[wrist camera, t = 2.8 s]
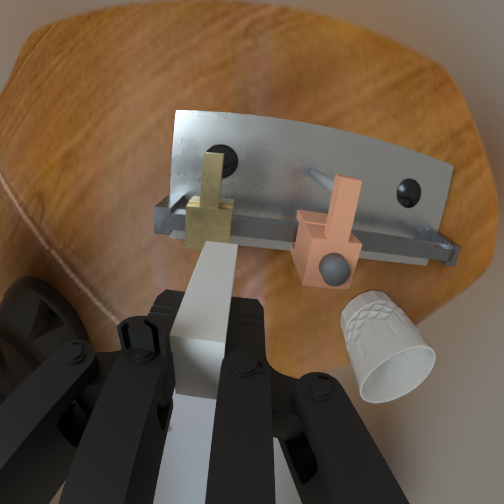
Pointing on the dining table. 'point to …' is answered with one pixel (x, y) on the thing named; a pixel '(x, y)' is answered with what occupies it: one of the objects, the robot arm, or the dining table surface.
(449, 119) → the dining table surface
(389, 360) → the white cup
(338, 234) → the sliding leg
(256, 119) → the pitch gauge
